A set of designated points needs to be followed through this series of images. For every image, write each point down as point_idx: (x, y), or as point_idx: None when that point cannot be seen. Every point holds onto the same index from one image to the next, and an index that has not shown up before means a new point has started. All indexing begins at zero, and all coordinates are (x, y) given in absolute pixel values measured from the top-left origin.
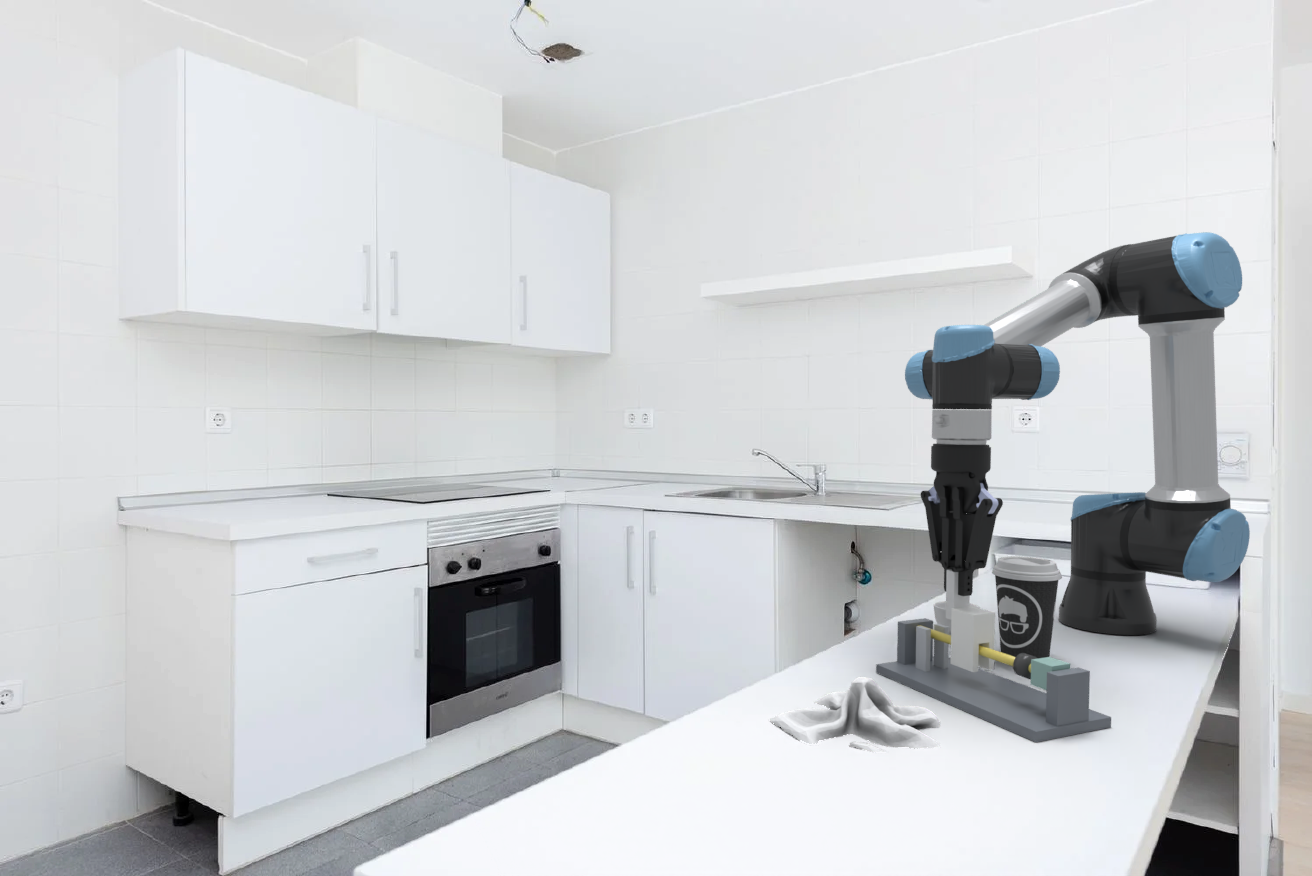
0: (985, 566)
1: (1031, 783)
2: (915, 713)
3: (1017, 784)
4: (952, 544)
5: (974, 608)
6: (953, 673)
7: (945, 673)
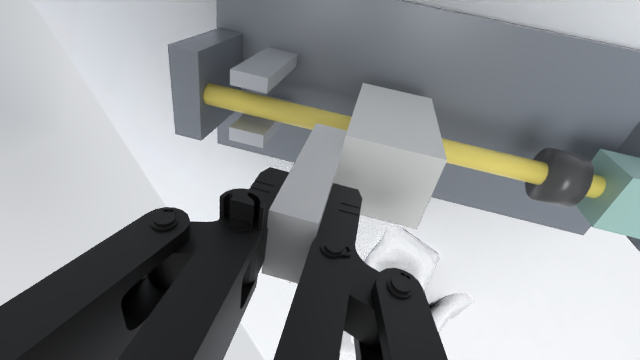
0: (419, 283)
1: (605, 321)
2: (401, 261)
3: (590, 330)
4: (215, 358)
5: (369, 159)
6: (326, 76)
7: (318, 90)
